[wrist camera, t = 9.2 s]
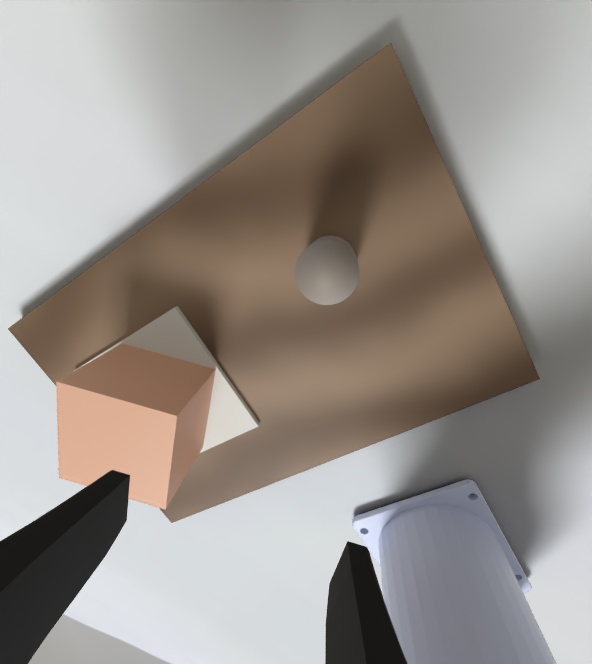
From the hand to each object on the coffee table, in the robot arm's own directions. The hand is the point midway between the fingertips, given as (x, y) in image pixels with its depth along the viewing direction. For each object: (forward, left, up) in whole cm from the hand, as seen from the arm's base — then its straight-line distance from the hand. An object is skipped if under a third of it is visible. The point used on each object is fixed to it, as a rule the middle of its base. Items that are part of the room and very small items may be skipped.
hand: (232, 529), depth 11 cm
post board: (+3, 0, -9) cm, 10 cm away
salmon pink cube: (+3, +6, -8) cm, 11 cm away
